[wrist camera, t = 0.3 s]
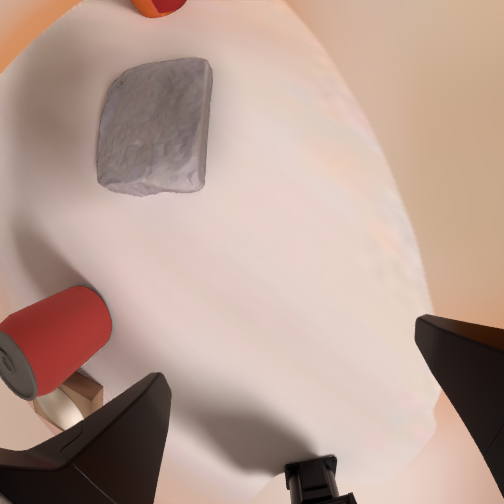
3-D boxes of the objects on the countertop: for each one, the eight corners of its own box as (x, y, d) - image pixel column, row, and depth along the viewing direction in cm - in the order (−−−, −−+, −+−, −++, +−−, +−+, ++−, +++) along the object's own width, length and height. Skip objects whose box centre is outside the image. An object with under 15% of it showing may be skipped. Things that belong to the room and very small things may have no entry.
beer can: (76, 270, 23) (-14, 304, 11) (124, 313, 23) (46, 375, 11) (58, 317, 24) (-16, 361, 12) (101, 356, 24) (36, 421, 12)
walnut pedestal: (103, 387, 25) (90, 402, 21) (102, 436, 26) (93, 450, 23) (40, 348, 24) (25, 359, 21) (45, 401, 26) (34, 412, 23)
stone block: (119, 200, 24) (215, 195, 22) (85, 196, 19) (189, 188, 17) (132, 90, 23) (223, 70, 21) (104, 72, 18) (203, 41, 16)
